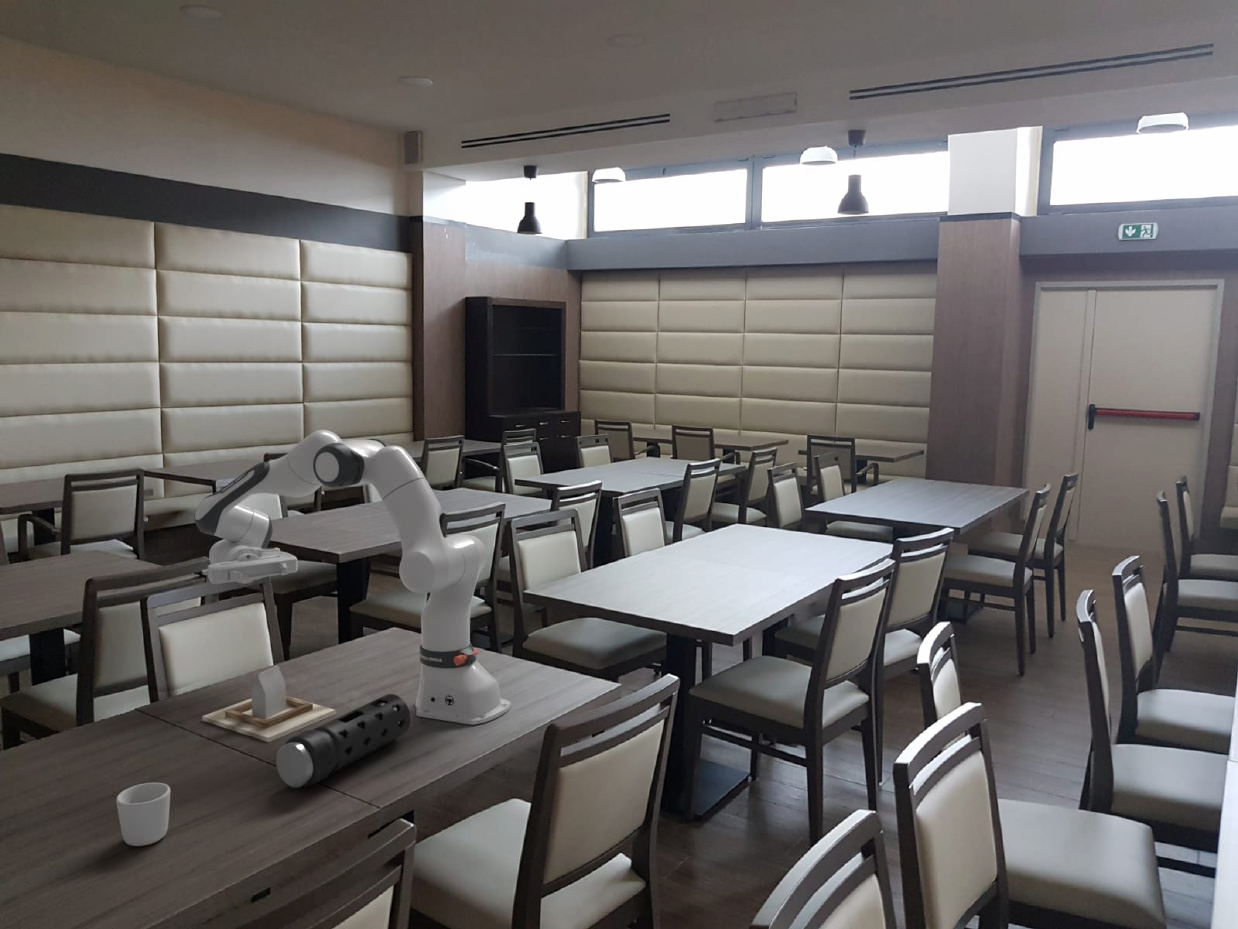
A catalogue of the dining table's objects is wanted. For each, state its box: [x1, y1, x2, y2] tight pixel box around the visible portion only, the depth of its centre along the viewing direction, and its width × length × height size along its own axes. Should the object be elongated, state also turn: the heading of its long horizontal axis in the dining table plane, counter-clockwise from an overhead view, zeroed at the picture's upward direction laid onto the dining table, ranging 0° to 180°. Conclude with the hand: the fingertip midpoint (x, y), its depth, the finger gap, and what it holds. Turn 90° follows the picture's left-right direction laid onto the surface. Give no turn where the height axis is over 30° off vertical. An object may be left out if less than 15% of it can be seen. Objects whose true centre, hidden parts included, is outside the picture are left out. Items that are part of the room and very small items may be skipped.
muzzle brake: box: [275, 693, 411, 789], centre depth 179 cm, size 10×28×10 cm, turn 153°
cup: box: [115, 782, 171, 847], centre depth 152 cm, size 11×8×8 cm
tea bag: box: [251, 664, 287, 719], centre depth 202 cm, size 4×7×10 cm, turn 162°
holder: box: [202, 695, 337, 743], centre depth 203 cm, size 22×18×2 cm
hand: (264, 574), depth 213 cm, fingers open, 8 cm apart
